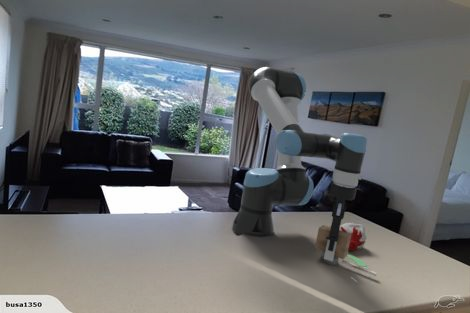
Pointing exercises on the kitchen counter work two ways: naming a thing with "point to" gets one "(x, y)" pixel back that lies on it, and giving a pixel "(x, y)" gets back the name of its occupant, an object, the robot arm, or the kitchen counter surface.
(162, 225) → the kitchen counter surface
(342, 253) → the knob
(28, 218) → the kitchen counter surface
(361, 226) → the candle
